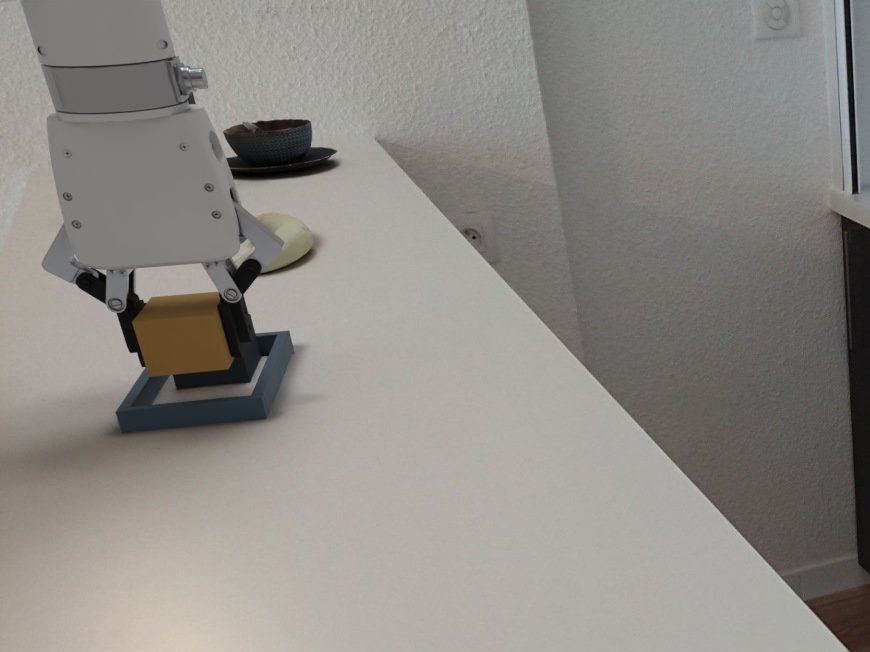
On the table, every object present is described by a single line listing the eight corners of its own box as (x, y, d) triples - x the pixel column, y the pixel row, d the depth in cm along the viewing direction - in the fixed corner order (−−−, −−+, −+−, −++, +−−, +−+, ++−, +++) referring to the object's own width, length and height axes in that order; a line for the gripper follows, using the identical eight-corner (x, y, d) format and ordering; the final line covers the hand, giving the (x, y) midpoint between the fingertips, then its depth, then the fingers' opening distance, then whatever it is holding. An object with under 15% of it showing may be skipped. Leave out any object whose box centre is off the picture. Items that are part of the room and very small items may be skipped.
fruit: (324, 235, 139) (317, 205, 138) (308, 272, 127) (300, 238, 125) (251, 240, 137) (243, 209, 136) (227, 278, 125) (218, 244, 123)
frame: (270, 430, 91) (261, 397, 90) (125, 445, 89) (114, 411, 87) (296, 359, 104) (289, 330, 103) (171, 371, 102) (162, 341, 101)
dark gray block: (251, 387, 97) (238, 337, 95) (177, 394, 96) (162, 343, 94) (262, 361, 102) (250, 313, 101) (192, 368, 101) (179, 319, 99)
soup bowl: (363, 159, 176) (351, 103, 172) (283, 184, 162) (269, 123, 158) (269, 154, 178) (256, 98, 175) (182, 177, 165) (166, 117, 161)
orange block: (229, 369, 90) (213, 314, 88) (149, 377, 88) (131, 321, 86) (242, 343, 95) (228, 290, 93) (166, 350, 93) (150, 296, 92)
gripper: (270, 76, 89) (331, 328, 97) (-15, 88, 84) (74, 352, 92) (254, 91, 82) (320, 360, 91) (-56, 106, 77) (44, 388, 86)
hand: (195, 354), depth 91 cm, fingers closed on orange block, 5 cm apart
